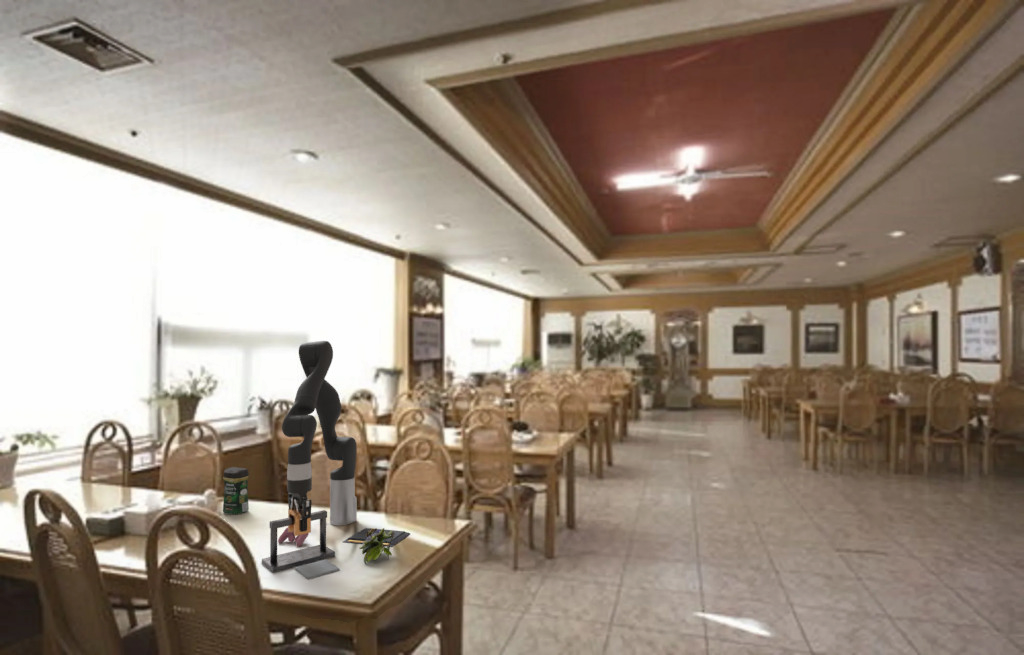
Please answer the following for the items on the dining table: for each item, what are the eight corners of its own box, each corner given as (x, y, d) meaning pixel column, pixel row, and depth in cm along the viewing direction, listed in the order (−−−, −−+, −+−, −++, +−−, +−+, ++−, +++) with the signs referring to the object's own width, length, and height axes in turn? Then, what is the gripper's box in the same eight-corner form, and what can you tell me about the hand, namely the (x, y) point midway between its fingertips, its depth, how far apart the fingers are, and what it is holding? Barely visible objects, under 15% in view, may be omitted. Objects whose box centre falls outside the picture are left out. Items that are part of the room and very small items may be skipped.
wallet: (411, 530, 209) (391, 544, 195) (411, 535, 209) (391, 549, 195) (364, 525, 215) (340, 538, 201) (364, 530, 215) (340, 544, 201)
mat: (325, 561, 183) (326, 559, 183) (339, 570, 175) (339, 568, 175) (294, 569, 176) (294, 567, 176) (307, 579, 169) (307, 577, 169)
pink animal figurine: (306, 548, 199) (312, 528, 202) (297, 546, 195) (304, 525, 198) (284, 544, 203) (291, 524, 206) (275, 542, 199) (282, 522, 202)
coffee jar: (219, 513, 236) (219, 468, 236) (234, 508, 243) (234, 465, 244) (237, 516, 232) (237, 470, 233) (252, 510, 240) (252, 466, 240)
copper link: (288, 531, 185) (288, 509, 185) (303, 528, 188) (303, 506, 188) (295, 535, 180) (295, 513, 181) (310, 532, 184) (310, 509, 184)
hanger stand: (261, 563, 181) (262, 519, 182) (322, 548, 194) (322, 507, 195) (272, 572, 174) (273, 526, 174) (335, 556, 187) (335, 513, 187)
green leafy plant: (371, 572, 188) (379, 535, 195) (398, 570, 183) (405, 533, 191) (349, 562, 180) (359, 524, 187) (377, 560, 176) (385, 521, 183)
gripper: (319, 478, 182) (319, 531, 182) (302, 471, 193) (302, 521, 192) (296, 482, 177) (296, 537, 177) (279, 474, 188) (279, 526, 187)
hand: (299, 528), depth 184 cm, fingers closed on copper link, 6 cm apart
